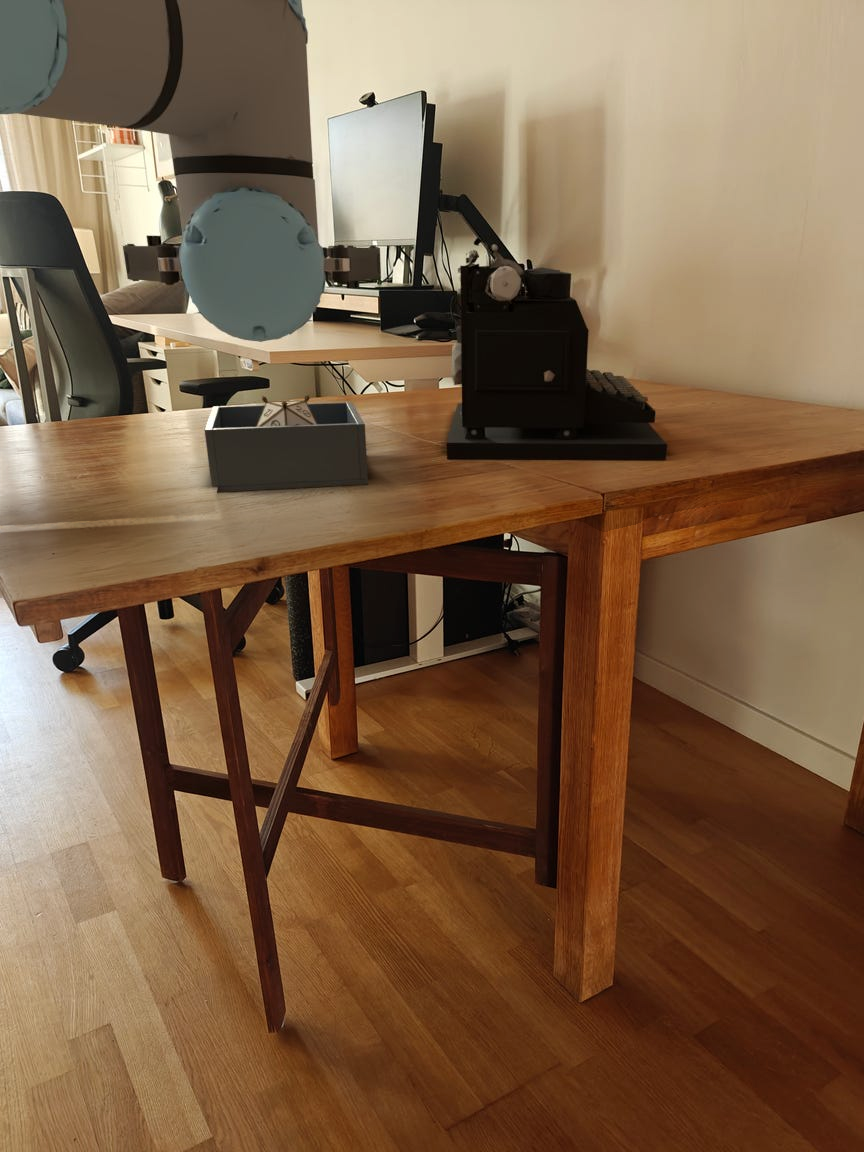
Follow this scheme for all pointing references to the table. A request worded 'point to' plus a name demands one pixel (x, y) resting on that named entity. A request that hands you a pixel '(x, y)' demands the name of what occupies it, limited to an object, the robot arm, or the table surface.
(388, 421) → the table surface
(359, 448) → the bin
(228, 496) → the table surface
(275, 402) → the game die
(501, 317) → the typewriter
